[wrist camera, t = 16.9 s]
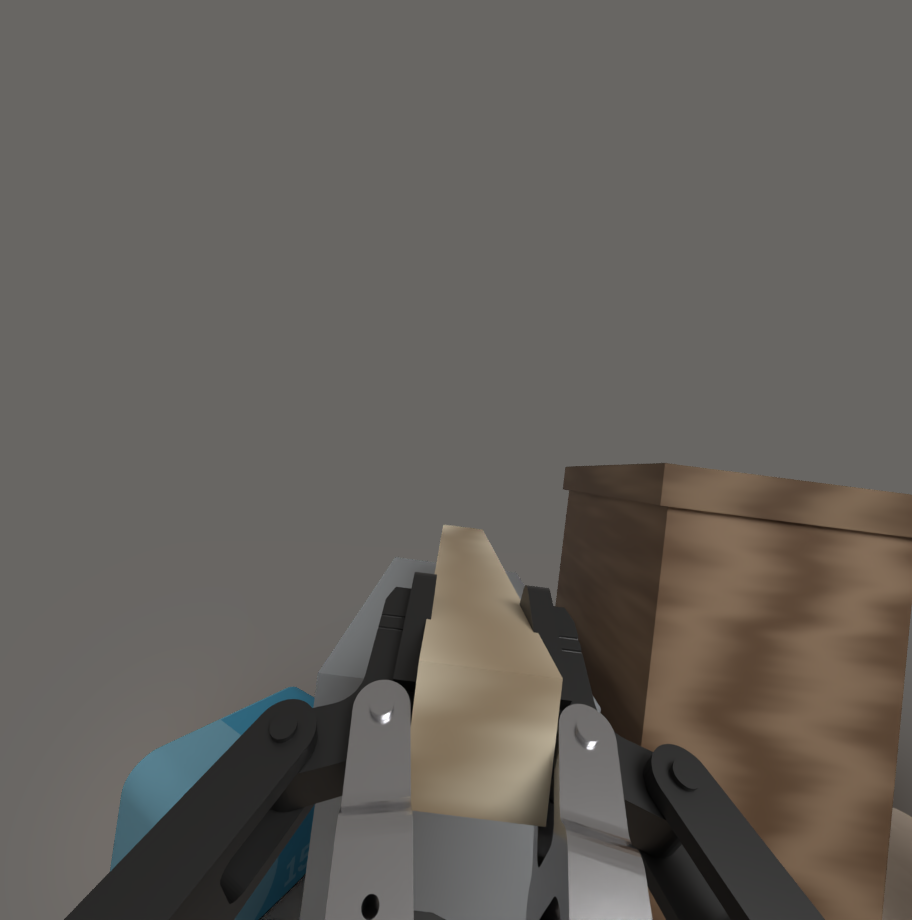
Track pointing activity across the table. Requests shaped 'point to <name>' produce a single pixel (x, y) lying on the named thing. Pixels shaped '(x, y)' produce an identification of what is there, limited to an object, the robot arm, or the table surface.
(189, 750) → the data package
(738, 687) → the wooden column with lip
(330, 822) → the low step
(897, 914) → the table surface
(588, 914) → the robot arm
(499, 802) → the birch rod
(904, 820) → the table surface
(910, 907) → the table surface
